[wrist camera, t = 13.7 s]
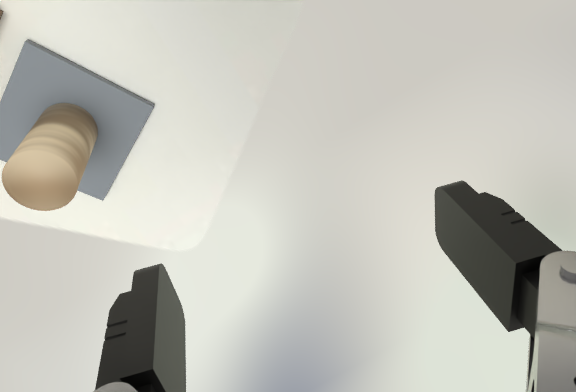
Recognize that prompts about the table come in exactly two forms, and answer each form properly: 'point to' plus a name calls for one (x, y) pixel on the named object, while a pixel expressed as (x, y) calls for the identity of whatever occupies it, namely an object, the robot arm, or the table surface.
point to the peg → (51, 158)
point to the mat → (79, 91)
